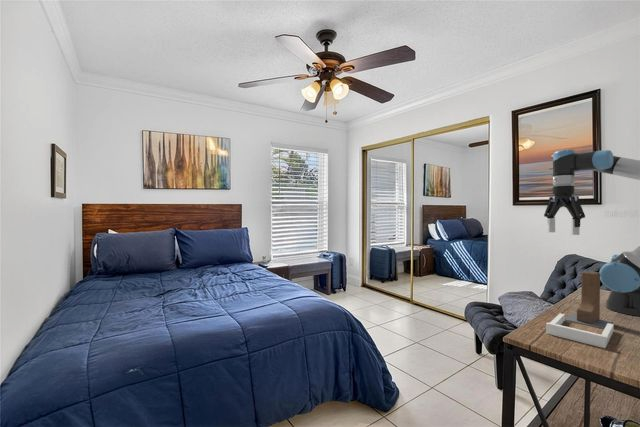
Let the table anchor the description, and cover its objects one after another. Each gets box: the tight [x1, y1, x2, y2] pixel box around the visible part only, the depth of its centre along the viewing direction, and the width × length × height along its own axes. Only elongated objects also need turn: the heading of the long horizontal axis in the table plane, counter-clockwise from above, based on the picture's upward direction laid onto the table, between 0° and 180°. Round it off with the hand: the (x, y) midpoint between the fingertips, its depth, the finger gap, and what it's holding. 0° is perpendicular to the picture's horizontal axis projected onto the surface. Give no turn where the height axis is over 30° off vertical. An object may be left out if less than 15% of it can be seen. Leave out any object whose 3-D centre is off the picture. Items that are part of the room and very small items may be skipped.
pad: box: [564, 312, 613, 330], centre depth 116 cm, size 11×12×1 cm
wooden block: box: [576, 270, 601, 324], centre depth 116 cm, size 9×4×18 cm, turn 123°
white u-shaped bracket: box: [545, 312, 615, 349], centre depth 106 cm, size 20×15×4 cm
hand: (562, 233), depth 136 cm, fingers open, 13 cm apart
